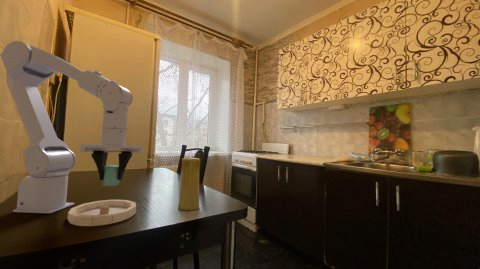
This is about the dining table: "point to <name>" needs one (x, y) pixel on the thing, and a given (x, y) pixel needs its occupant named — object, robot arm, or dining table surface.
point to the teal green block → (111, 175)
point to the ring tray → (101, 212)
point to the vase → (189, 184)
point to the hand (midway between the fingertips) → (111, 179)
